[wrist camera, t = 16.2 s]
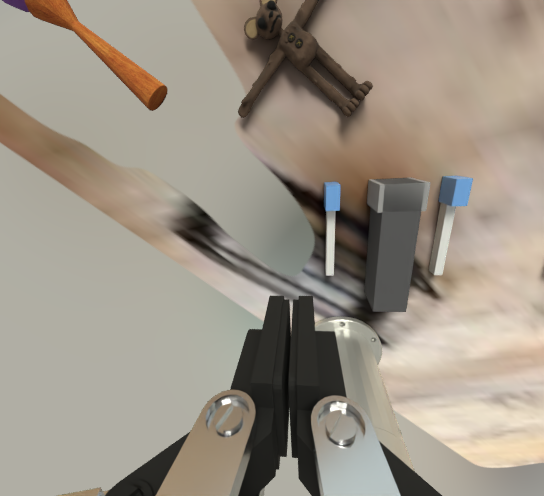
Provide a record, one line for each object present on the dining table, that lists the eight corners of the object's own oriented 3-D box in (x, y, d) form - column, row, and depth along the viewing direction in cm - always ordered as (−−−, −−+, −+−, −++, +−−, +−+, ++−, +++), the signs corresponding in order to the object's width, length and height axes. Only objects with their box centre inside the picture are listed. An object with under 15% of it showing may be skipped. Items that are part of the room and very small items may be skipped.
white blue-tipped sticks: (552, 269, 33) (575, 280, 30) (323, 270, 36) (324, 280, 34) (589, 168, 28) (621, 170, 25) (324, 182, 32) (326, 185, 29)
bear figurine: (306, 172, 29) (199, 84, 26) (303, 167, 33) (210, 90, 30) (435, 10, 23) (315, -135, 19) (413, 28, 27) (309, -91, 23)
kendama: (132, 122, 28) (-55, -33, 24) (161, 117, 33) (11, -12, 29) (153, 73, 25) (-57, -116, 21) (181, 75, 30) (17, -77, 26)
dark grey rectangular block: (396, 291, 36) (410, 311, 32) (360, 291, 37) (368, 311, 32) (411, 177, 31) (430, 182, 26) (368, 179, 31) (380, 184, 27)
